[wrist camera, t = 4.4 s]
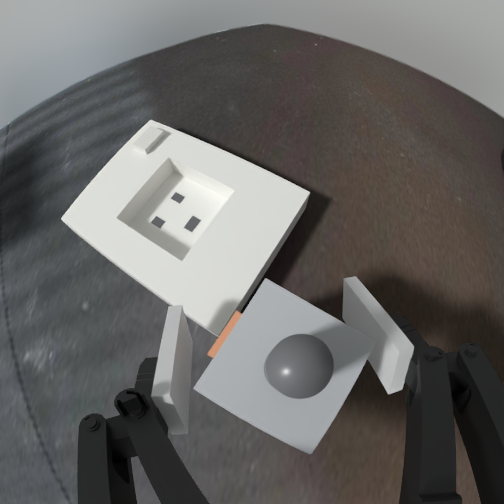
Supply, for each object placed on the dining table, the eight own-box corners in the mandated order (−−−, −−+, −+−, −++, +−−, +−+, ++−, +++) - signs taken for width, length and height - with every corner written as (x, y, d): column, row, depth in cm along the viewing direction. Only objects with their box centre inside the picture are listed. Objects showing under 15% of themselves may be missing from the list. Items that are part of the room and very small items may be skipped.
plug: (321, 356, 20) (412, 329, 8) (284, 417, 18) (329, 480, 6) (252, 316, 21) (250, 236, 9) (212, 376, 20) (153, 379, 8)
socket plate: (305, 208, 24) (311, 187, 22) (222, 339, 21) (217, 334, 18) (156, 136, 28) (148, 115, 25) (74, 231, 24) (57, 215, 21)
